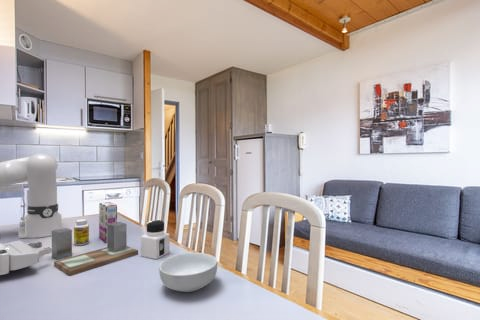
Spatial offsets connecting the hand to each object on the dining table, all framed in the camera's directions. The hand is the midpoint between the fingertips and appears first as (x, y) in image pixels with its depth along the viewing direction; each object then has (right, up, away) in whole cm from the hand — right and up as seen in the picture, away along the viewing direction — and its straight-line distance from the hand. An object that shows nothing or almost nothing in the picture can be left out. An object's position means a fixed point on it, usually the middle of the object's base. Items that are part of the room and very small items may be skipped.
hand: (46, 246), depth 97 cm
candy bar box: (+10, -5, +25) cm, 28 cm away
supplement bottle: (+2, -5, +19) cm, 20 cm away
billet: (+22, -3, +7) cm, 24 cm away
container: (+37, -5, +7) cm, 38 cm away
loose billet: (+3, -5, +4) cm, 7 cm away
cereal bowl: (+55, -6, -18) cm, 58 cm away
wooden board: (+18, -5, +2) cm, 19 cm away
